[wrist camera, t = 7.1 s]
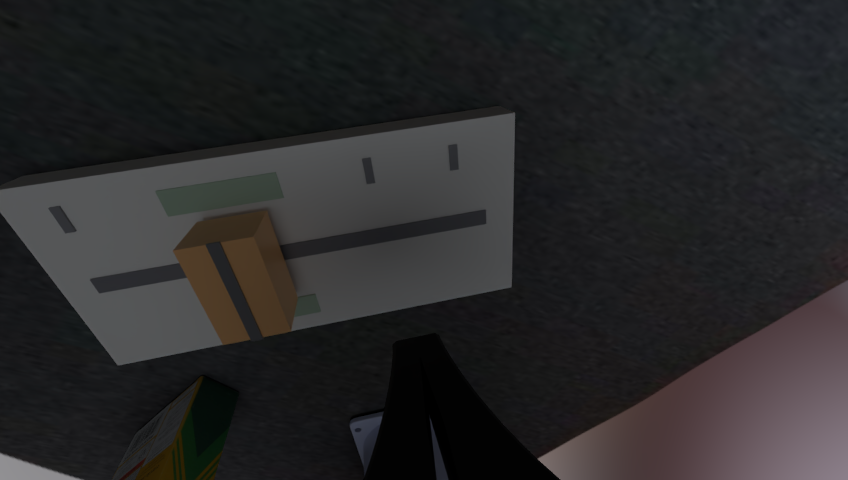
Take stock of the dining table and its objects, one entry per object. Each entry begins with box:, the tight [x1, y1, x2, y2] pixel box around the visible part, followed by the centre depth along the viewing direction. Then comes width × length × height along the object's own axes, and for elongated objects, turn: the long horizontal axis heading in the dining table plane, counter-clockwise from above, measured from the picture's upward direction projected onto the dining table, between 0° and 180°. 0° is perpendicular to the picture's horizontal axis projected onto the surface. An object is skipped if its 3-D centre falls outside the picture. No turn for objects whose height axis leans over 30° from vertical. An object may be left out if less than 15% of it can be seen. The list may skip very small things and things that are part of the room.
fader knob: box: [173, 210, 298, 345], centre depth 16 cm, size 5×3×3 cm, turn 6°
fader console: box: [0, 106, 515, 365], centre depth 19 cm, size 10×22×2 cm, turn 96°
